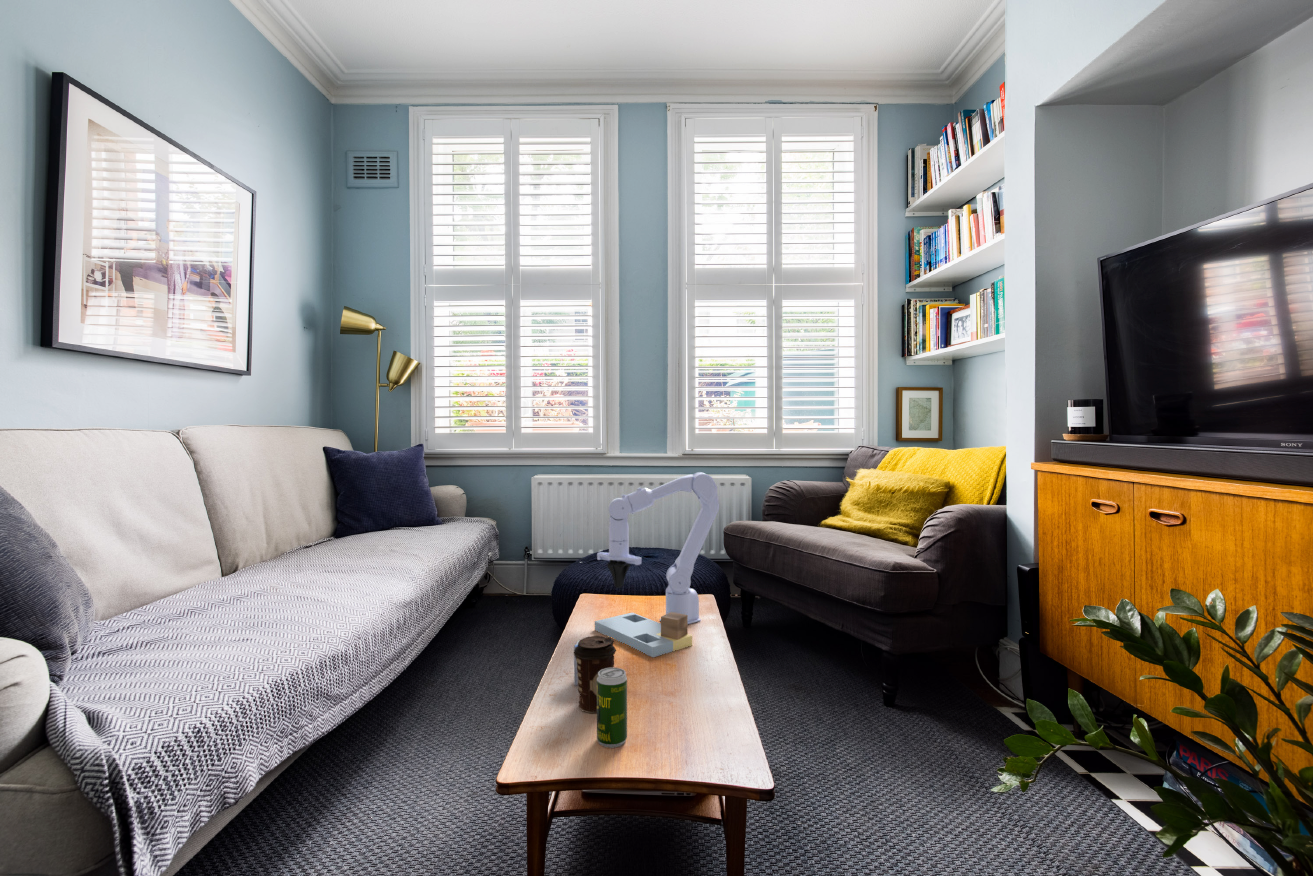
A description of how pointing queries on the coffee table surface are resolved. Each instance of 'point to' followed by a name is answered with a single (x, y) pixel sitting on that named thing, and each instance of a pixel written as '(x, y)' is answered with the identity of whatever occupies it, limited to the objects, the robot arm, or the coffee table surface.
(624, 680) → the green drink can
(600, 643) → the coffee cup
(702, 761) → the coffee table surface
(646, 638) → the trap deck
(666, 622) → the walnut cube
